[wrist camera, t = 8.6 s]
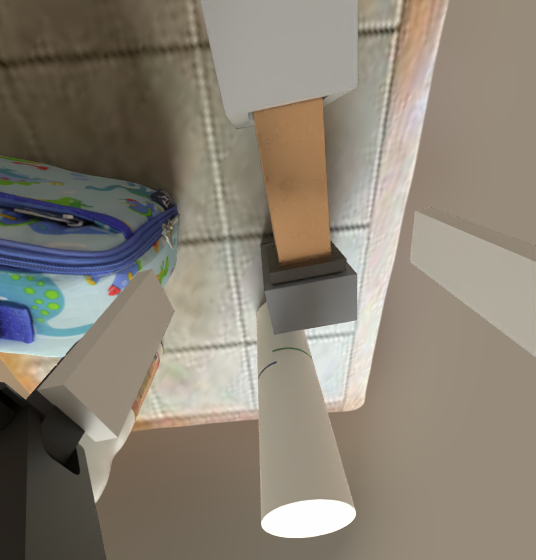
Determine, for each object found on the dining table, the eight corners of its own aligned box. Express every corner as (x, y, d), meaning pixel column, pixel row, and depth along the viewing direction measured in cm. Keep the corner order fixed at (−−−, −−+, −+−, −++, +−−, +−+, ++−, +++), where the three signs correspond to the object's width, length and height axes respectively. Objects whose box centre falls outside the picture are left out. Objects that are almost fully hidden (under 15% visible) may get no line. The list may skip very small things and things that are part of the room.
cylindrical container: (247, 314, 39) (241, 522, 17) (282, 290, 38) (324, 489, 16) (273, 339, 42) (296, 544, 20) (307, 318, 40) (371, 518, 19)
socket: (260, 244, 34) (264, 291, 23) (322, 232, 33) (357, 274, 22) (267, 278, 36) (273, 334, 25) (324, 267, 36) (356, 320, 25)
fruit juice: (159, 370, 44) (44, 644, 20) (104, 359, 42) (-100, 650, 18) (169, 333, 40) (40, 619, 16) (109, 318, 38) (-147, 623, 14)
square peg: (233, 83, 21) (226, 55, 15) (314, 65, 21) (341, 29, 15) (273, 284, 31) (278, 319, 25) (328, 274, 31) (347, 306, 25)
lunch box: (195, 189, 30) (104, 253, 11) (188, 265, 35) (116, 397, 16) (-53, 131, 26) (-829, 84, 7) (-21, 227, 30) (-436, 346, 12)
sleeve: (213, 18, 23) (176, -108, 12) (305, -3, 22) (358, -153, 11) (236, 128, 27) (225, 114, 16) (313, 112, 27) (357, 86, 16)
